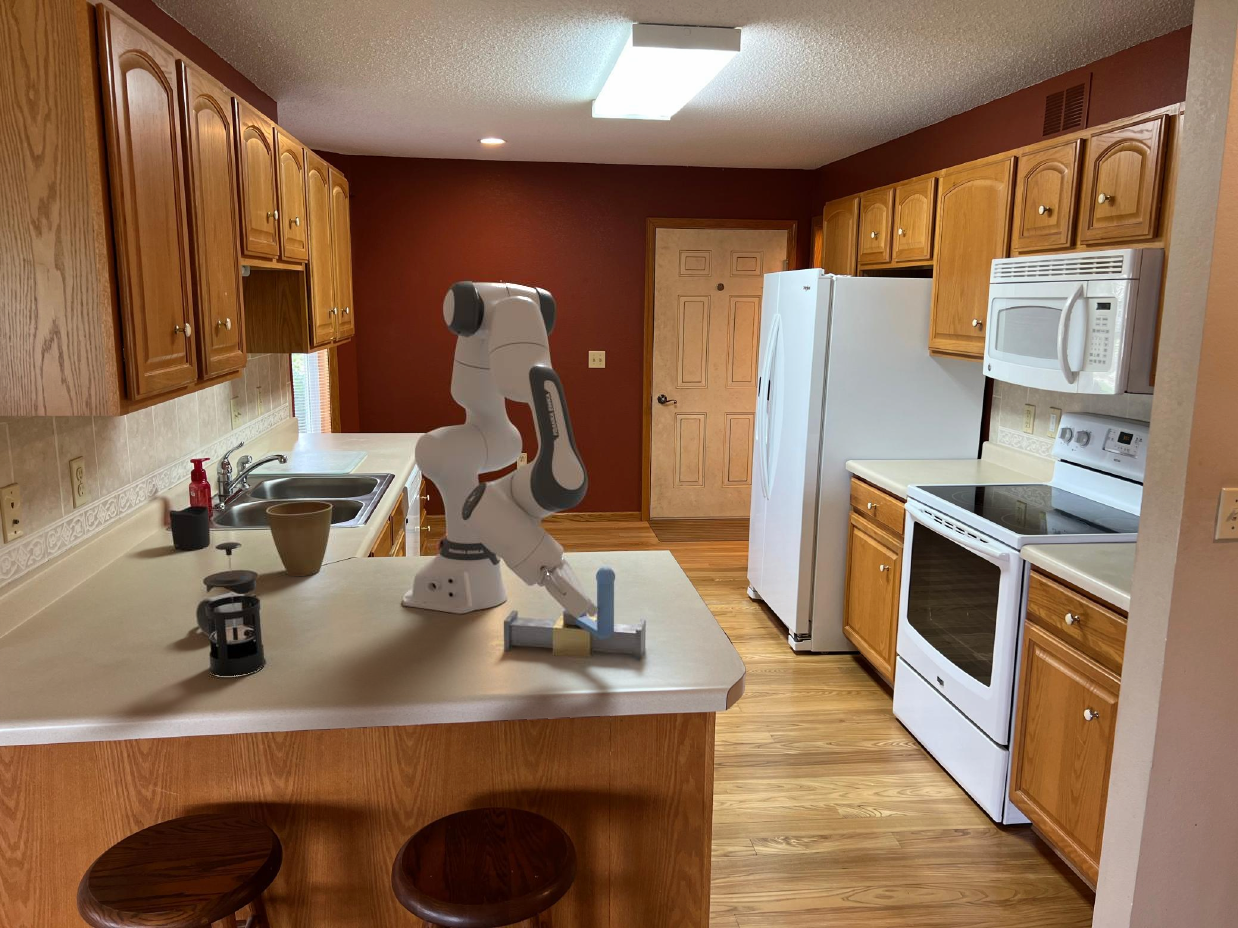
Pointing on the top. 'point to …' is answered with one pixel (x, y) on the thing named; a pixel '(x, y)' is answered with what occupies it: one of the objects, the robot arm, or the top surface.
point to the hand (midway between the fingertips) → (594, 611)
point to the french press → (235, 644)
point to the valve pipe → (572, 637)
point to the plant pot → (301, 534)
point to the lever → (599, 607)
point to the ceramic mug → (201, 611)
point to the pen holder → (190, 528)
